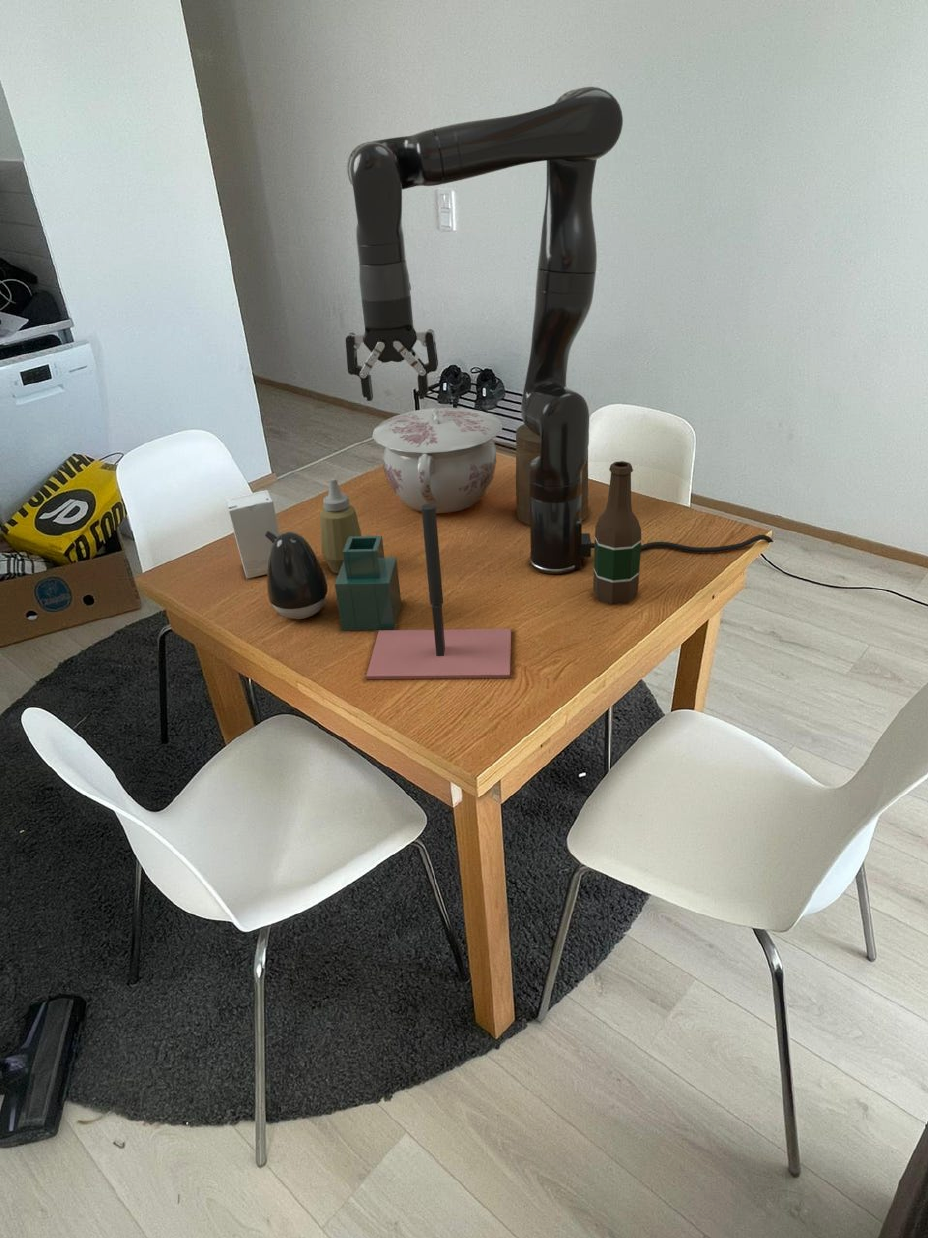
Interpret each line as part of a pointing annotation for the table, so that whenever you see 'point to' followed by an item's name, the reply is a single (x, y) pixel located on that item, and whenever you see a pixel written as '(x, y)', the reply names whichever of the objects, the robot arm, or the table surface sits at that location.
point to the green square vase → (367, 586)
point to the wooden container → (525, 453)
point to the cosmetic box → (253, 529)
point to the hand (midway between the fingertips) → (396, 398)
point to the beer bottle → (617, 542)
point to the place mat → (462, 656)
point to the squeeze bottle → (337, 525)
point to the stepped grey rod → (434, 573)
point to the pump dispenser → (294, 577)
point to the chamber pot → (439, 456)
